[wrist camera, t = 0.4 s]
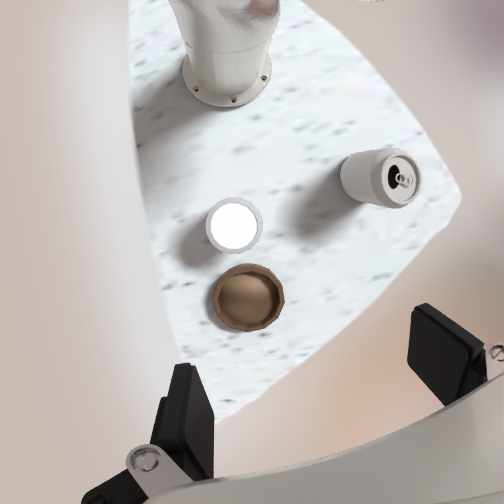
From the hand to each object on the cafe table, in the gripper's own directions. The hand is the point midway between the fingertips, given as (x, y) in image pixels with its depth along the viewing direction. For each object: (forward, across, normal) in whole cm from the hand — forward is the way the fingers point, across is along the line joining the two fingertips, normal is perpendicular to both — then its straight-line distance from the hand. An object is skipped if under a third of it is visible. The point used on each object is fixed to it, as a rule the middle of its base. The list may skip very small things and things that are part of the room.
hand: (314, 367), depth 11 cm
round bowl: (+32, +2, +10) cm, 33 cm away
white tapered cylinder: (+32, +2, -2) cm, 32 cm away
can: (+32, -18, -5) cm, 37 cm away
